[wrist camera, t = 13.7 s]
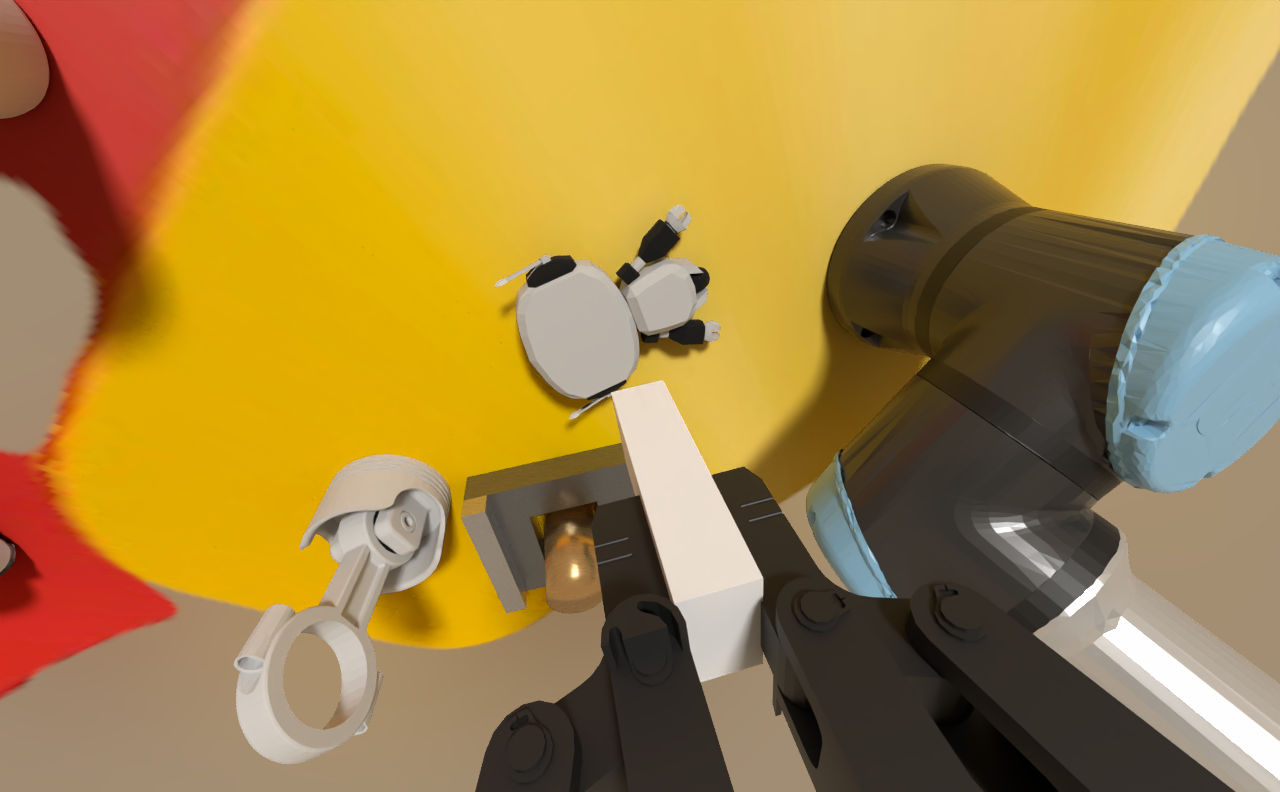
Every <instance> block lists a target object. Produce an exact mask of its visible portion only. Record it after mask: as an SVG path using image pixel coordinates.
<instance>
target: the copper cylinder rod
mask: <svg viewBox="0 0 1280 792" xmlns="http://www.w3.org/2000/svg"><path fill="white" fill-rule="evenodd" d="M593 518H594V514H593V508H592V503H588V504H583V505H579V506H575V507H571V508H567V509H562V510H558V511H554V512H550V513H545V514H543V521H544V547H545V572H546V598H547V603H548V605H549V606H550V607H551V608H552V609H554V610H556V611H558V612H562V613H578V612H583V611H586V610H588V609H590V608H593V607H594V606H596V605H597V604H598V603H600V602H601V600H602V592H601V586H600V579H599V573H598V567H597V566H598V565H597V560H596V554H595V547H594V541H593V534H592V528H591V524H592V521H593Z"/></svg>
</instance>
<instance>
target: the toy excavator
mask: <svg viewBox="0 0 1280 792" xmlns="http://www.w3.org/2000/svg"><path fill="white" fill-rule="evenodd" d="M15 558H16V551H15V545H14V544H12V543H7V542H5V541H4V540H2V539H1V538H0V575H2V574H4V573H5V572H7V571H8V570H9V569H10V568H11V567H12V565H13V563H14V562H15Z"/></svg>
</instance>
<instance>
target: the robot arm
mask: <svg viewBox="0 0 1280 792" xmlns="http://www.w3.org/2000/svg"><path fill="white" fill-rule="evenodd" d="M827 291H828V299H829V304H830V307H831V310H832V312H833V314H834V316H835V318H836V320H837V321H838V322H839V324H840V325H841V326H842V327H843V328H844V329H845V330H847V331H848V332H850V333H851V334H853V335H854V336H855V337H857V338H858V339H860V340H861V341H863V342H865V343H867V344H869V345H872V346H875V347H878V348H883V349H888V350H894V351H899V352H904V353H910V354H915V355H921V356H926V357H929V358H931V359H930V360H929V361H928V362H927V364H926V365H925V366H924V367H923V368H922V369H921V370H920V371H919V372H918V373H917V374H916V375H915V376H914V377H913V378H912V379H911V380H910V381H909V382H908V383H907V384H906V385H905V386H904V387H903V388H902V389H901V390H900V391H899V392H898V393H897V394H896V396H895V397H894V398H893V399H892V400H891V401H890V402H889V403H888V404H887V405H886V406H885V407H884V408H883V409H882V410H881V411H880V412H879V413H878V414H877V415H876V416H875V417H874V418H873V419H872V420H871V422H870V423H869V424H868V425H867V426H866V427H865V428H864V429H863V430H862V431H861V432H860V433H859V434H858V435H857V436H856V437H855V438H854V439H853V440H852V441H851V442H850V443H849V444H848V445H847V446H846V448H845V449H841V450H839V451H838V452H837V453H836V454H835V455H834V457H833V461H832V462H831V464H830V465H829V466H828V467H827V468H826V469H825V471H824V472H823V473H822V474H821V475H820V476H819V477H818V479H817V480H816V481H815V482H814V483H813V485H812V486H811V488H810V489H809V492H808V494H807V499H806V512H807V517H808V521H809V524H810V526H811V529H812V531H813V535H814V537H815V539H816V541H817V543H818V545H819V547H820V549H821V551H822V552H823V554H824V556H825V558H826V559H827V561H828V563H829V564H830V565H831V567H832V568H833V570H834V571H835V573H836V574H837V575H838V577H839V578H840V580H841V581H842V582H843V584H844V585H845V586H846V588H847V589H848V590H849V591H850V592H848V591H846V590H844V589H842V588H840V587H839V586H837V585H835V584H834V583H832V582H831V581H830V580H829V579H828V578H826V577H825V576H824V575H823V573H822V572H821V571H820V570H819V568H818V567H817V565H816V564H815V562H814V561H813V559H812V558H811V556H810V554H809V553H808V552H807V550H806V548H805V547H804V545H803V544H802V542H801V540H800V539H799V537H798V536H797V534H796V532H795V531H794V529H793V528H792V526H791V525H790V523H789V522H788V520H787V518H786V517H785V515H784V514H782V511H781V509H780V507H779V506H778V504H777V503H776V501H775V500H773V497H772V495H771V493H770V492H769V490H768V489H767V487H766V485H765V484H764V482H763V481H762V479H760V478H759V477H758V476H756V475H755V474H753V473H752V472H751V471H749V470H748V469H746V468H745V467H741V468H737V469H733V470H729V471H725V472H721V473H717V474H714V475H711V474H710V472H709V470H708V468H707V466H706V464H705V462H704V460H703V458H702V456H701V454H700V452H699V450H698V448H697V446H696V444H695V442H694V440H693V438H692V436H691V434H690V432H689V430H688V429H687V427H686V425H685V423H684V421H683V419H682V417H681V415H680V413H679V411H678V409H677V407H676V405H675V403H674V401H673V399H672V397H671V395H670V393H669V391H668V389H667V387H666V385H665V383H664V381H663V380H661V381H657V382H653V383H648V384H644V385H640V386H636V387H631V388H627V389H623V390H619V391H614V392H611V395H612V400H613V404H614V409H615V414H616V418H617V423H618V428H619V432H620V437H621V442H622V446H623V451H624V456H625V460H626V465H627V469H628V472H629V476H630V479H631V483H632V486H633V490H634V494H635V496H634V497H630V498H626V499H622V500H619V501H615V502H611V503H607V504H603V505H599V506H597V509H596V512H595V515H594V518H593V521H592V524H591V528H592V534H593V541H594V547H595V554H596V560H597V565H598V566H597V567H598V573H599V579H600V586H601V592H602V599H603V605H604V612H605V618H606V621H605V624H604V626H603V628H602V635H601V648H602V651H603V654H604V656H603V658H602V660H601V663H600V665H599V666H598V667H597V669H596V670H595V672H594V673H593V674H592V675H591V677H589V678H588V679H587V680H586V681H585V682H584V683H582V684H581V685H580V686H579V687H577V688H576V689H574V690H573V691H572V692H570V693H569V694H567V695H566V696H565V697H563V698H562V699H560V700H559V701H558V702H556V703H555V704H554V703H549V702H544V701H536V702H532V703H528V704H524V705H522V706H520V707H519V708H517V709H516V710H514V711H513V712H511V713H510V714H509V715H507V716H506V717H505V719H504V720H503V721H502V722H501V724H500V725H499V726H498V727H497V729H496V730H495V731H494V733H493V735H492V738H491V740H490V743H489V745H488V747H487V750H486V752H485V756H484V759H483V763H482V767H481V771H480V775H479V779H478V783H477V787H476V791H475V792H734V790H733V787H732V784H731V781H730V777H729V774H728V771H727V767H726V765H725V761H724V758H723V754H722V751H721V748H720V745H719V741H718V738H717V735H716V732H715V728H714V725H713V722H712V719H711V715H710V712H709V709H708V706H707V702H706V699H705V696H704V692H703V689H702V686H701V683H700V682H703V681H706V680H710V679H713V678H716V677H719V676H723V675H726V674H730V673H733V672H736V671H739V670H743V669H746V668H749V667H753V666H756V665H759V664H763V652H764V655H765V657H766V659H767V662H768V664H769V666H770V668H771V671H772V673H773V675H774V676H773V706H774V711H775V715H776V716H777V715H780V714H781V710H782V711H783V714H784V716H785V719H786V721H787V723H788V726H789V728H790V731H791V733H792V735H793V738H794V740H795V742H796V745H797V747H798V749H799V752H800V754H801V756H802V759H803V761H804V764H805V766H806V768H807V771H808V773H809V775H810V778H811V780H812V782H813V784H814V787H815V789H816V792H1280V684H1279V683H1278V682H1277V681H1275V680H1274V679H1272V678H1271V677H1270V676H1268V675H1267V674H1266V673H1264V672H1263V671H1262V670H1260V669H1259V668H1258V667H1256V666H1255V665H1254V664H1252V663H1251V662H1250V661H1248V660H1247V659H1245V658H1244V657H1243V656H1241V655H1240V654H1239V653H1237V652H1236V651H1235V650H1233V649H1232V648H1231V647H1229V646H1228V645H1227V644H1225V643H1224V642H1222V641H1221V640H1220V639H1219V638H1217V637H1216V636H1214V635H1213V634H1212V633H1210V632H1209V631H1208V630H1206V629H1205V628H1204V627H1202V626H1201V625H1200V624H1198V623H1197V622H1196V621H1194V620H1193V619H1192V618H1190V617H1189V616H1188V615H1186V614H1185V613H1184V612H1182V611H1181V610H1179V609H1178V608H1177V607H1175V606H1174V605H1173V604H1171V603H1170V602H1169V601H1167V600H1166V599H1165V598H1163V597H1162V596H1161V595H1159V594H1158V593H1156V592H1155V591H1154V590H1153V589H1151V588H1150V587H1148V586H1147V585H1146V584H1144V583H1143V582H1142V581H1140V580H1139V579H1138V578H1136V577H1135V576H1134V575H1133V573H1132V571H1131V569H1130V567H1129V557H1128V547H1127V540H1126V537H1125V535H1124V534H1123V532H1122V531H1120V530H1119V529H1118V528H1117V527H1115V526H1114V525H1112V524H1111V523H1109V522H1108V521H1107V520H1105V519H1104V518H1102V517H1101V516H1099V515H1098V514H1096V513H1095V512H1094V511H1093V510H1091V509H1090V508H1091V507H1092V506H1093V505H1094V504H1095V503H1096V502H1097V500H1100V499H1101V498H1102V497H1103V496H1104V495H1106V494H1107V493H1109V492H1110V491H1111V490H1112V489H1114V488H1115V487H1116V486H1118V485H1119V484H1120V483H1122V482H1123V481H1125V482H1127V483H1128V484H1130V485H1131V486H1133V487H1135V488H1141V489H1147V490H1150V491H1153V492H1159V493H1171V492H1178V491H1181V490H1185V489H1188V488H1190V487H1193V486H1195V485H1196V484H1197V483H1198V482H1199V481H1200V480H1201V479H1202V478H1210V477H1212V476H1214V475H1216V474H1218V473H1219V472H1220V471H1222V470H1223V469H1225V468H1226V467H1227V466H1229V465H1231V464H1232V463H1233V462H1235V461H1236V460H1237V459H1238V458H1239V457H1241V456H1242V455H1243V454H1244V453H1246V452H1247V451H1248V450H1249V449H1250V448H1251V447H1252V446H1253V445H1254V444H1255V443H1257V442H1258V441H1259V440H1260V439H1261V438H1262V437H1263V436H1264V435H1265V434H1266V433H1267V432H1268V431H1269V430H1270V428H1271V427H1272V426H1273V425H1274V424H1275V423H1276V422H1277V421H1278V419H1279V418H1280V256H1277V255H1273V254H1269V253H1264V252H1261V251H1257V250H1253V249H1249V248H1245V247H1241V246H1236V245H1233V244H1229V243H1226V242H1225V241H1224V240H1222V239H1221V238H1219V237H1216V236H1210V235H1204V234H1200V235H1196V236H1193V235H1187V234H1182V233H1176V232H1171V231H1165V230H1159V229H1154V228H1148V227H1143V226H1137V225H1131V224H1126V223H1120V222H1115V221H1109V220H1103V219H1098V218H1092V217H1087V216H1081V215H1075V214H1070V213H1064V212H1059V211H1052V210H1047V209H1042V208H1037V207H1032V206H1031V205H1029V204H1028V203H1027V202H1025V201H1024V200H1022V199H1021V198H1020V197H1018V196H1017V195H1015V194H1014V193H1013V192H1011V191H1010V190H1008V189H1007V188H1006V187H1004V186H1003V185H1001V184H1000V183H999V182H997V181H996V180H994V179H993V178H992V177H990V176H989V175H987V174H985V173H983V172H981V171H978V170H976V169H973V168H969V167H962V166H955V165H947V164H931V165H925V166H920V167H917V168H914V169H911V170H909V171H906V172H904V173H902V174H900V175H898V176H896V177H895V178H893V179H891V180H890V181H888V182H887V183H885V184H884V185H883V186H881V187H880V188H879V189H878V190H876V191H875V192H874V193H873V194H872V195H871V196H870V197H869V198H868V199H867V200H866V201H865V202H864V203H863V204H862V205H861V206H860V207H859V209H858V210H857V211H856V212H855V214H854V215H853V216H852V218H851V219H850V221H849V222H848V224H847V225H846V227H845V228H844V230H843V232H842V234H841V236H840V238H839V240H838V242H837V244H836V247H835V249H834V252H833V255H832V258H831V262H830V266H829V272H828V280H827Z"/></svg>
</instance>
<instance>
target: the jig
mask: <svg viewBox="0 0 1280 792" xmlns="http://www.w3.org/2000/svg"><path fill="white" fill-rule="evenodd" d="M634 496H635V494H634V490H633V486H632V483H631V479H630V476H629V472H628V469H627V465H626V460H625V456H624V451H623V446H622V443H620V444H615V445H611V446H606V447H602V448H597V449H593V450H588V451H584V452H579V453H575V454H571V455H566V456H562V457H557V458H553V459H548V460H544V461H539V462H535V463H530V464H526V465H521V466H517V467H512V468H508V469H504V470H499V471H495V472H490V473H486V474H481V475H477V476H472V477H468V478H467V482H466V489H465V495H464V501H463V508H462V514H461V519H462V521H463V523H464V525H465V527H466V529H467V531H468V533H469V535H470V538H471V540H472V542H473V544H474V546H475V548H476V550H477V552H478V554H479V556H480V559H481V561H482V563H483V565H484V567H485V569H486V571H487V573H488V575H489V577H490V580H491V582H492V584H493V586H494V588H495V590H496V592H497V594H498V596H499V599H500V601H501V603H502V605H503V607H504V609H505V611H506V613H509V612H513V611H517V610H521V609H524V608H526V591H527V590H531V589H535V588H539V587H543V586H546V572H545V547H544V537H543V534H542V531H541V528H540V525H539V522H538V519H537V517H536V516H537V515H541V514H545V513H550V512H554V511H558V510H562V509H567V508H571V507H575V506H579V505H583V504H588V503H592V502H596V501H597V504H598V506H599V505H603V504H607V503H611V502H615V501H619V500H622V499H626V498H630V497H634Z"/></svg>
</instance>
